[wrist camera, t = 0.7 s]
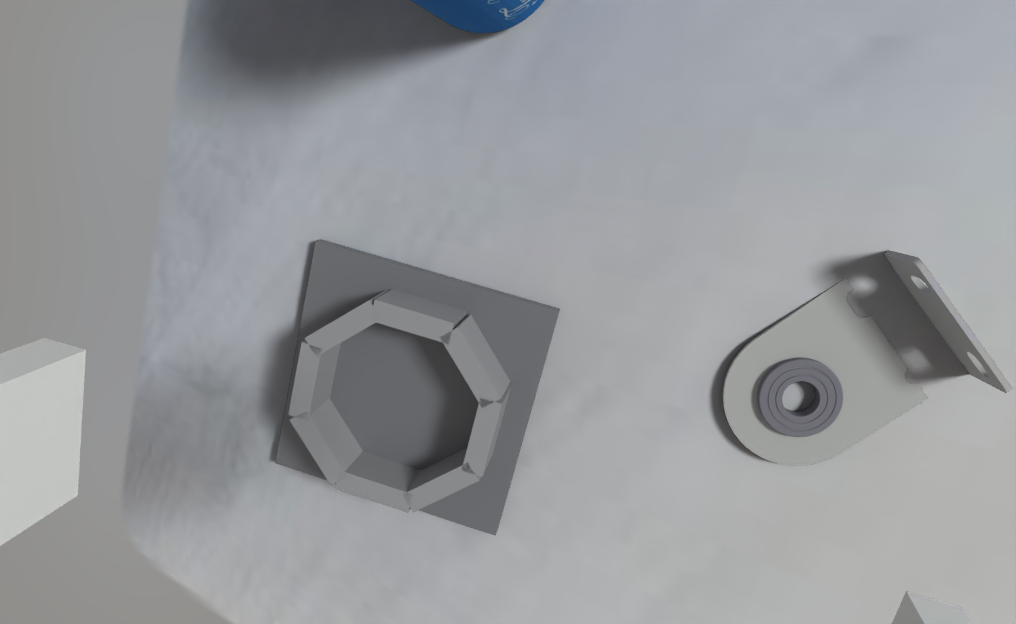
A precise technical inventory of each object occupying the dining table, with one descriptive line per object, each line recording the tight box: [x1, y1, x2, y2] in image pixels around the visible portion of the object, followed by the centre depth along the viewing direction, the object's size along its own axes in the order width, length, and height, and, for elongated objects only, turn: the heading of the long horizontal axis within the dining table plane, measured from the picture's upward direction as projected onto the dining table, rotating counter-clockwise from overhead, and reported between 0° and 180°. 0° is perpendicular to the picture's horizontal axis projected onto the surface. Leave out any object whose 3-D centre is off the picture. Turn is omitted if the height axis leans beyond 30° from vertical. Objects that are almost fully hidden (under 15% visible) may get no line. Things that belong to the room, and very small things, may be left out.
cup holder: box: [275, 240, 560, 535], centre depth 35 cm, size 12×12×3 cm
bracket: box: [723, 250, 1012, 466], centre depth 31 cm, size 7×10×4 cm, turn 128°
